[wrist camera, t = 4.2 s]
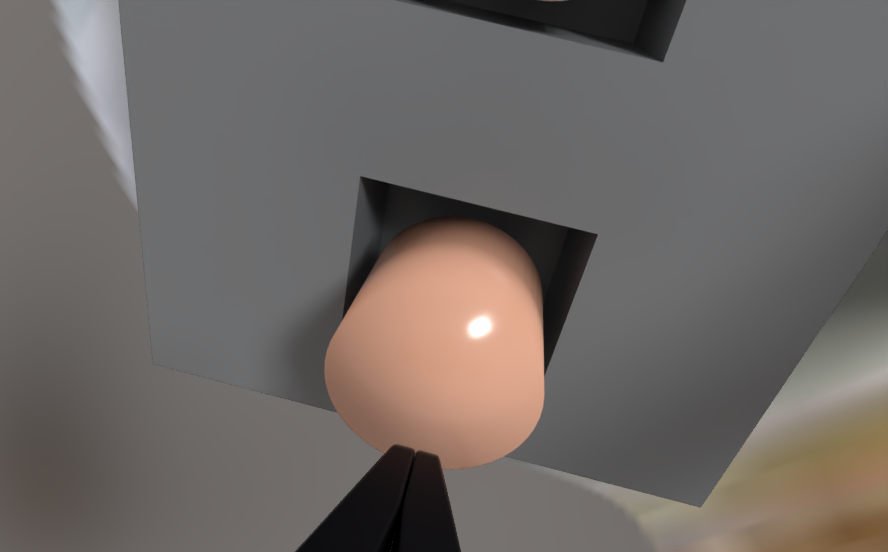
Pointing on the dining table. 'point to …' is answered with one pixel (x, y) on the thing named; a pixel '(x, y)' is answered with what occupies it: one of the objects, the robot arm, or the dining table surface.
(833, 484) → the dining table surface
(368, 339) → the terracotta plunger
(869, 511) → the dining table surface
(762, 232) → the block
